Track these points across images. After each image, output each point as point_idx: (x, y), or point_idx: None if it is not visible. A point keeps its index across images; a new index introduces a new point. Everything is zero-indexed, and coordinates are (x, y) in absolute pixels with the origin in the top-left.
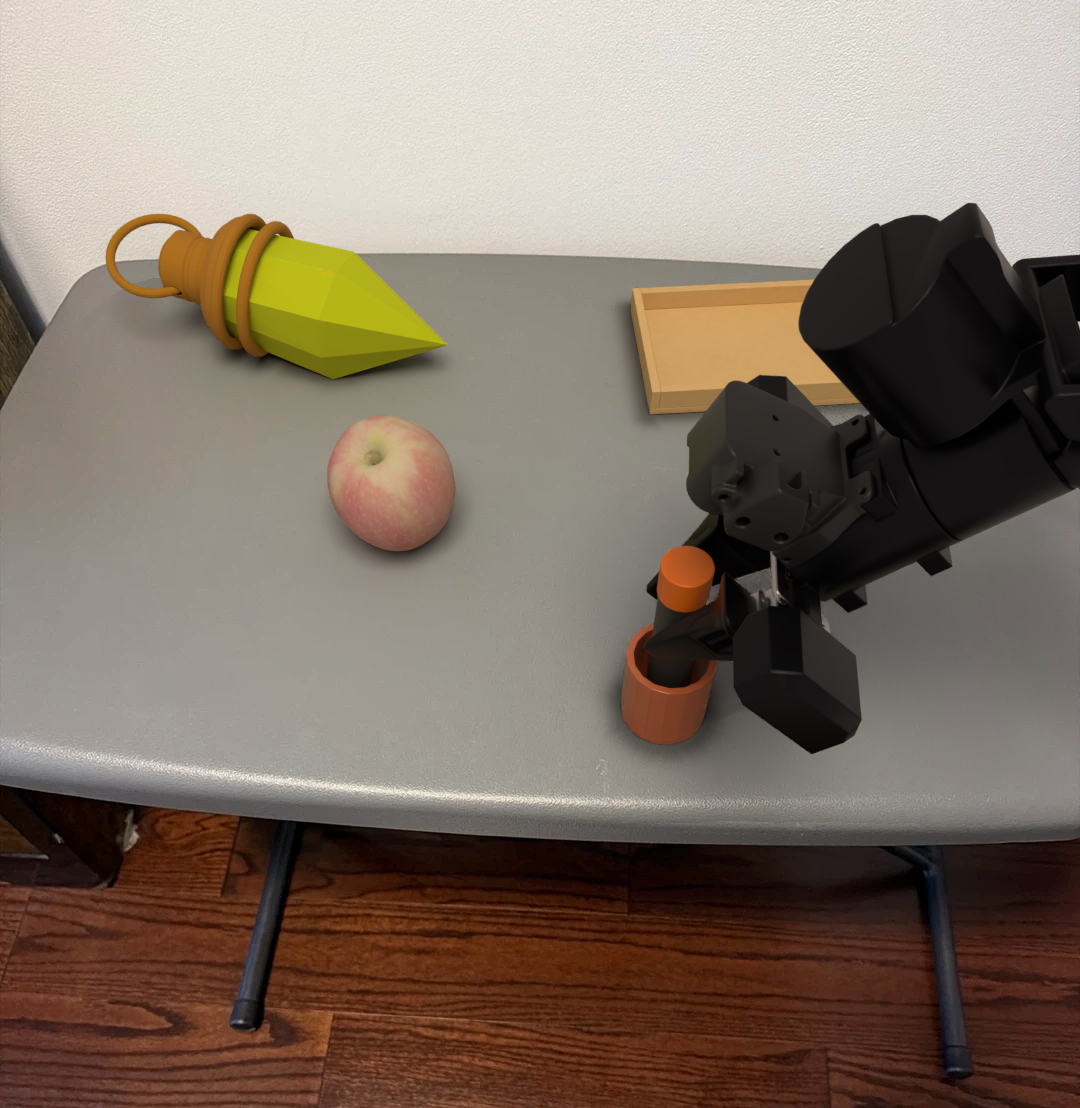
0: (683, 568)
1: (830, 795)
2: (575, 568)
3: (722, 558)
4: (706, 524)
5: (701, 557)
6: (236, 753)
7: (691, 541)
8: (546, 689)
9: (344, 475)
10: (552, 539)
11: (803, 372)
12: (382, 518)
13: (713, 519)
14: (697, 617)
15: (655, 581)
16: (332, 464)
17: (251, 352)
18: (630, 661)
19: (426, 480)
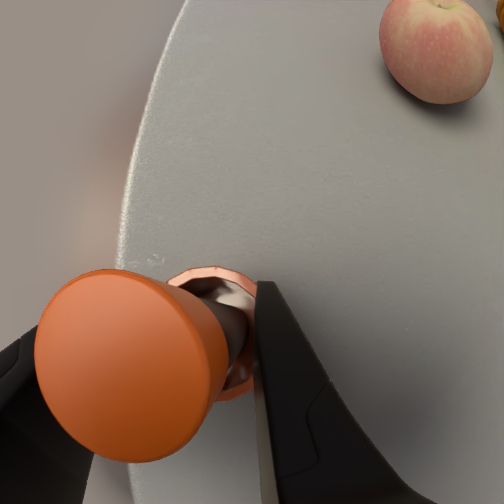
0: (93, 354)
1: (137, 470)
2: (413, 230)
3: (264, 468)
4: (338, 454)
5: (150, 429)
6: (194, 13)
7: (306, 394)
8: (251, 200)
9: None
10: (443, 207)
11: None
12: (388, 19)
13: (338, 487)
14: (13, 366)
15: (261, 296)
16: None
17: (500, 22)
18: (198, 271)
19: (437, 38)
